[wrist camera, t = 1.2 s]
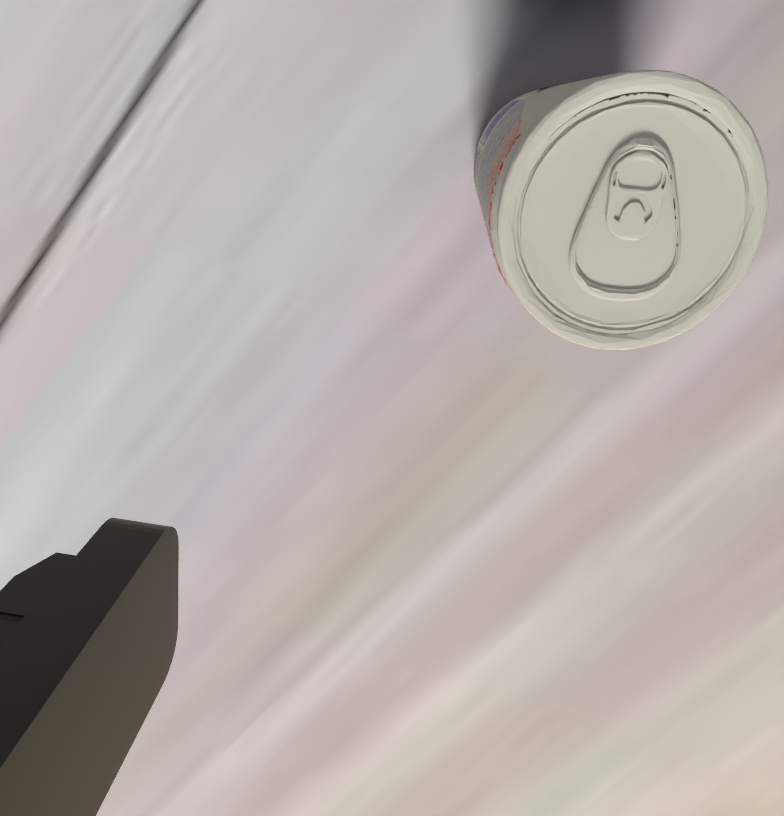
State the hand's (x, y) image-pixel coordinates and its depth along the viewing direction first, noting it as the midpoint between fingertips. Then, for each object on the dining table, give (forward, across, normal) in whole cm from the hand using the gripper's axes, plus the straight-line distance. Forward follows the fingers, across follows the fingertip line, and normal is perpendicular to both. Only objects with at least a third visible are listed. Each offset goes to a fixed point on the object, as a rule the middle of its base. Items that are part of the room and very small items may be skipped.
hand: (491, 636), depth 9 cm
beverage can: (+23, -2, -4) cm, 24 cm away
